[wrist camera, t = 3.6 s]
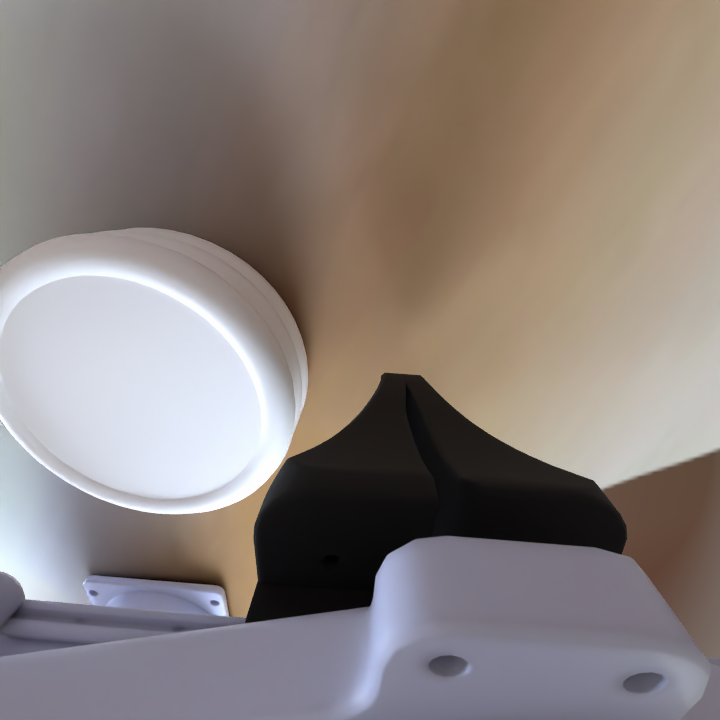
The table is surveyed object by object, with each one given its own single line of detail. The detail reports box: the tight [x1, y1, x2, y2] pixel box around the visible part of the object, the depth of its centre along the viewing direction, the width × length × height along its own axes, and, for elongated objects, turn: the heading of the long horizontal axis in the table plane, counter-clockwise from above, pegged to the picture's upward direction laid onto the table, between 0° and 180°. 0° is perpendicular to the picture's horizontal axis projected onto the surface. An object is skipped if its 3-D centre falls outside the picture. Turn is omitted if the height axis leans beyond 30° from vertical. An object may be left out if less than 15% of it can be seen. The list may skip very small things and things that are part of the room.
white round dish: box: [0, 228, 308, 514], centre depth 12 cm, size 10×10×4 cm
